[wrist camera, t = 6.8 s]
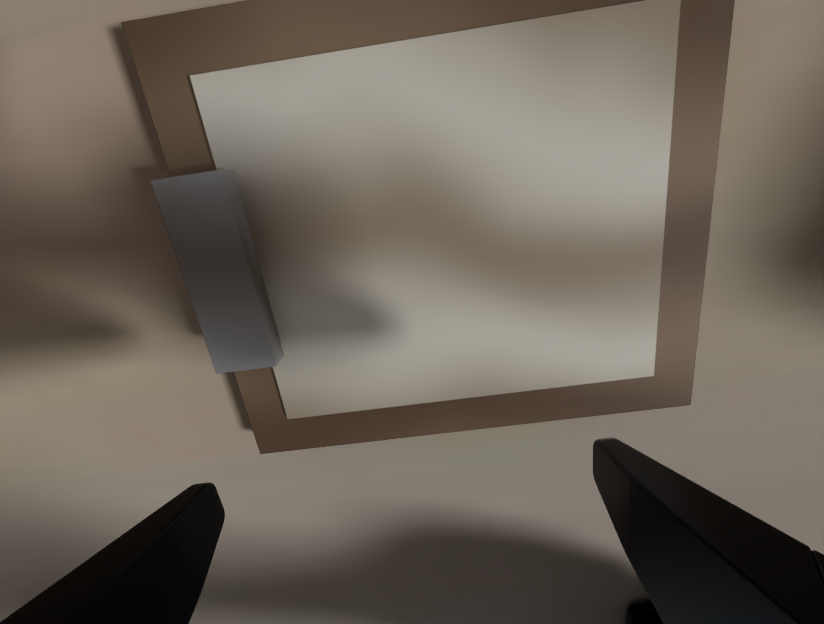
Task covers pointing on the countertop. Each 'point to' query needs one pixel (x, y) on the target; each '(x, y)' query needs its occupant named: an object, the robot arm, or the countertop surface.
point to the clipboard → (440, 204)
